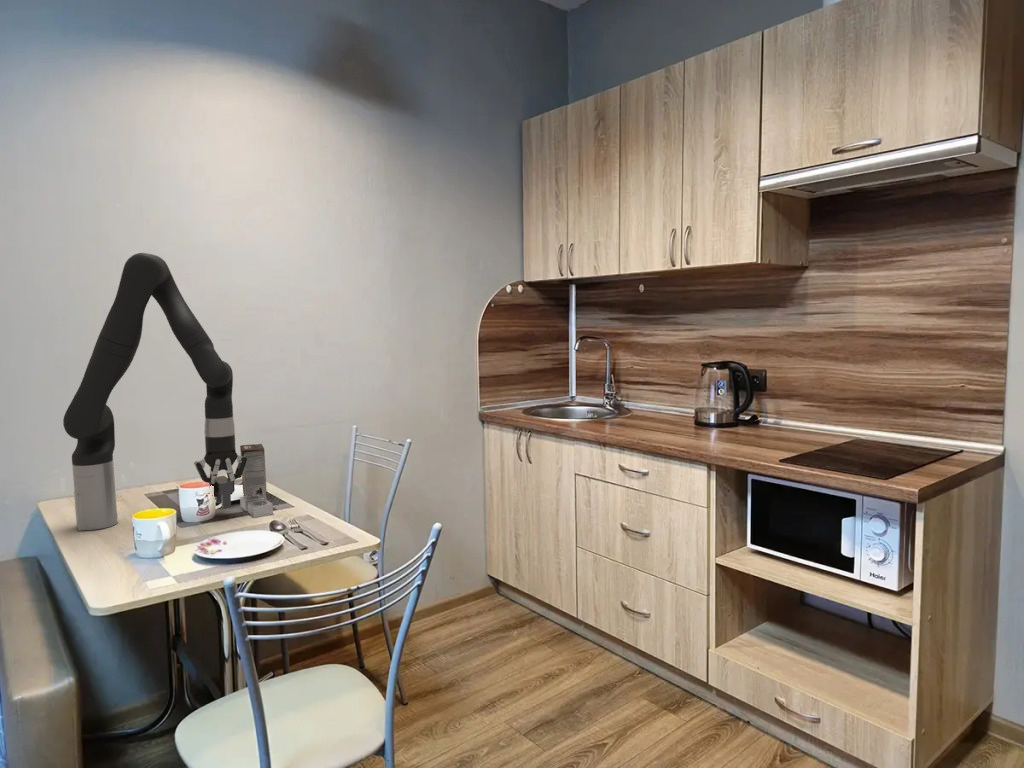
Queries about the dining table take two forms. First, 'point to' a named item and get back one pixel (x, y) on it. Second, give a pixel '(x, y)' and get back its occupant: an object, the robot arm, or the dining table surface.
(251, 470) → the coffee box
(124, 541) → the dining table surface
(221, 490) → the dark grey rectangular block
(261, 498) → the grey stone base block
